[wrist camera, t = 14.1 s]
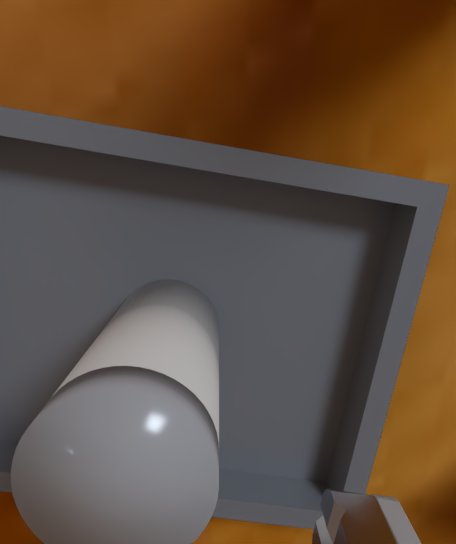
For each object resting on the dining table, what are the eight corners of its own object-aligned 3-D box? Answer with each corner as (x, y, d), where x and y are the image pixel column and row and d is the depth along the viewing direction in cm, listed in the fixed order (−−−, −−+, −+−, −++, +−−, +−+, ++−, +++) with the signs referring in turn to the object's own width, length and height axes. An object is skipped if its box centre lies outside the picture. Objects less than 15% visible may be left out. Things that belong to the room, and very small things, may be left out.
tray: (413, 183, 19) (449, 184, 16) (336, 487, 22) (353, 534, 19) (-42, 104, 18) (-92, 90, 15) (-51, 438, 21) (-94, 479, 18)
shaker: (226, 287, 19) (235, 406, 9) (210, 381, 20) (201, 580, 10) (123, 271, 19) (17, 375, 9) (112, 367, 19) (5, 557, 10)
